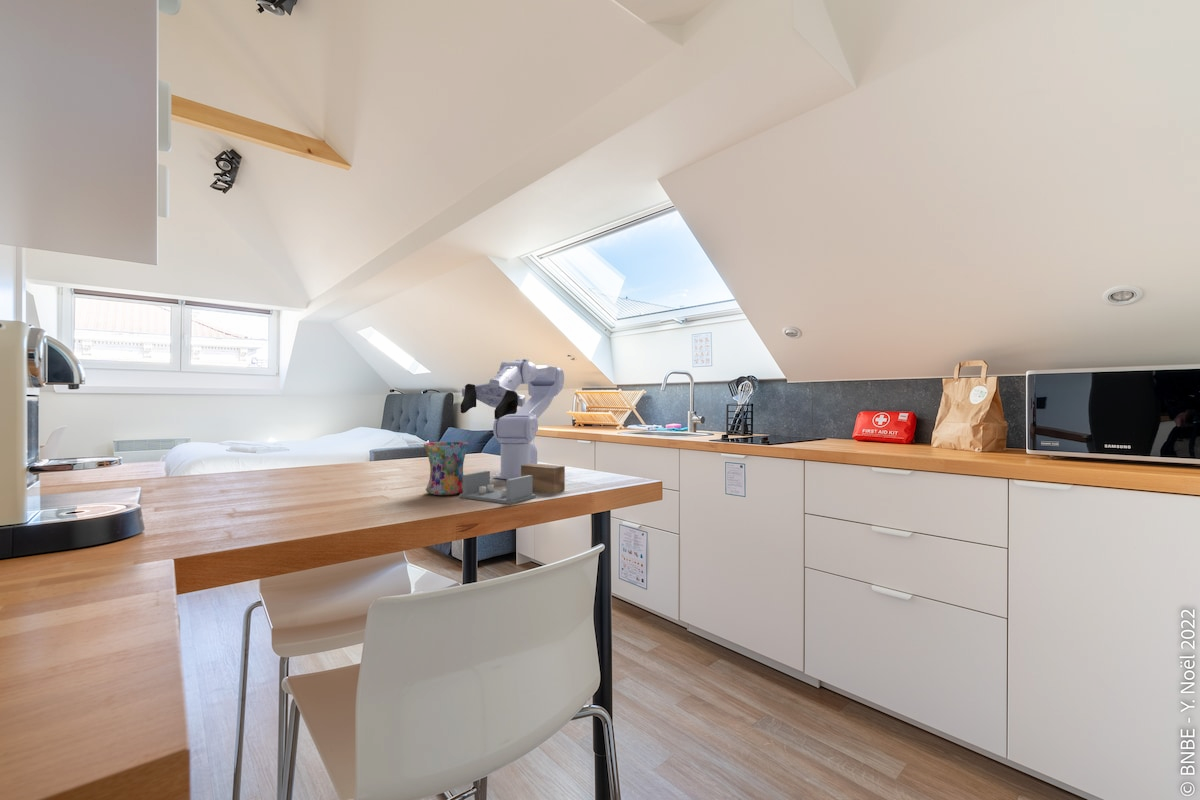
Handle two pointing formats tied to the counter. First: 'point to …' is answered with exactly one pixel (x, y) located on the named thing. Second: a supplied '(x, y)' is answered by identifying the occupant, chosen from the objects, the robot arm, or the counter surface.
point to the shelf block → (545, 477)
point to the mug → (446, 467)
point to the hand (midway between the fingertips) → (478, 412)
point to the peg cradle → (482, 490)
